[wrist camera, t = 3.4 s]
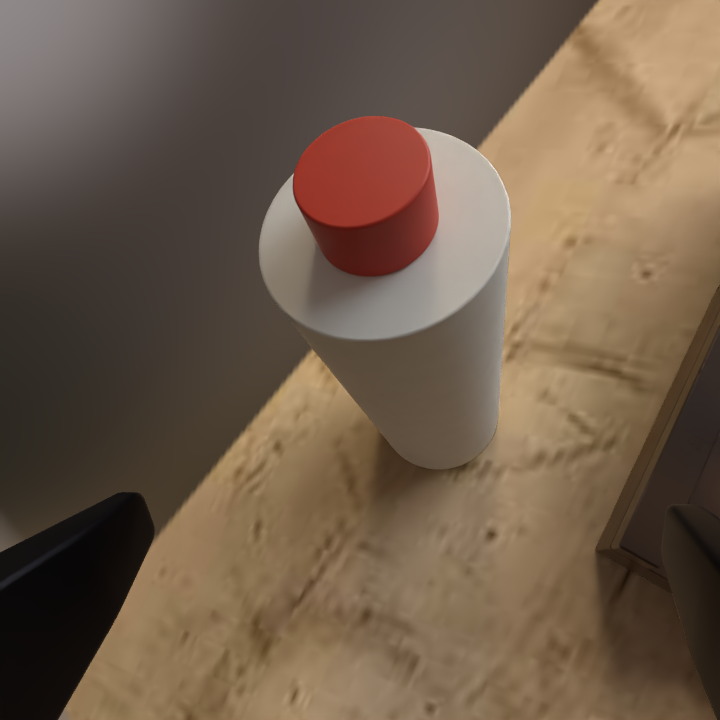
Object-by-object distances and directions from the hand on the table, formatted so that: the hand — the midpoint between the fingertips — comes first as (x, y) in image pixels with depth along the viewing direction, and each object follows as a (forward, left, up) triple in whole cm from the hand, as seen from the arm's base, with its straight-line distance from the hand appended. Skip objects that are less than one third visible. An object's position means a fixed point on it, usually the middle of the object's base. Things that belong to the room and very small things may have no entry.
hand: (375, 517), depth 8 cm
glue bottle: (+5, +1, -12) cm, 13 cm away
